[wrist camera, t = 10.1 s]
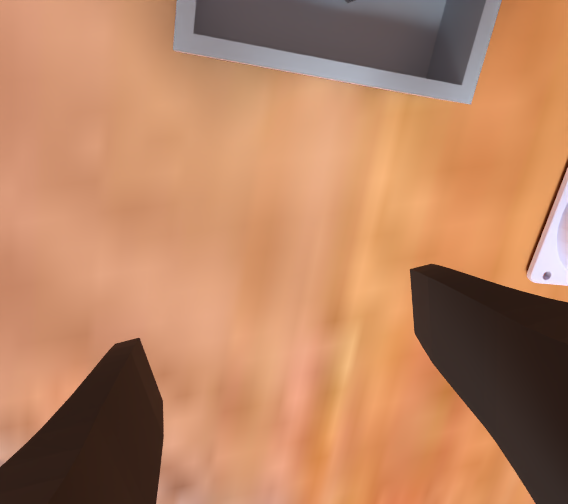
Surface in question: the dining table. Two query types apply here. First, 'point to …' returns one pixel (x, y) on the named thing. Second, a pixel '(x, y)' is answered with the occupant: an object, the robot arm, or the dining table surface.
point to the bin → (348, 40)
